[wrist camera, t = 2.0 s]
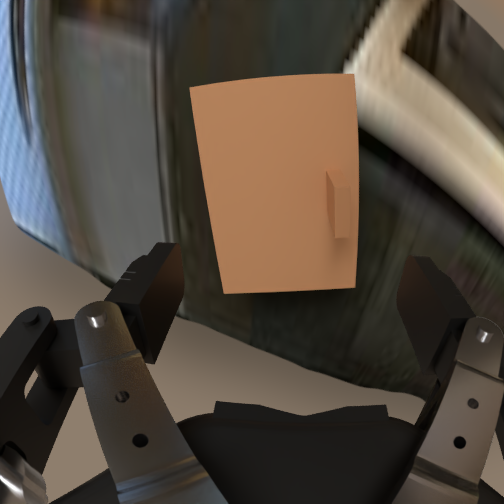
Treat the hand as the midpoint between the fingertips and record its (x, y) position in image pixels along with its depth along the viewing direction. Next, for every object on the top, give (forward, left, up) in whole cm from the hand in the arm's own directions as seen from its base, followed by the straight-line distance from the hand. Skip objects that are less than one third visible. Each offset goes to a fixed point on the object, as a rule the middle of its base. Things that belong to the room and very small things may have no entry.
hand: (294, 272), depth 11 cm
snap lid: (+1, +3, -20) cm, 20 cm away
